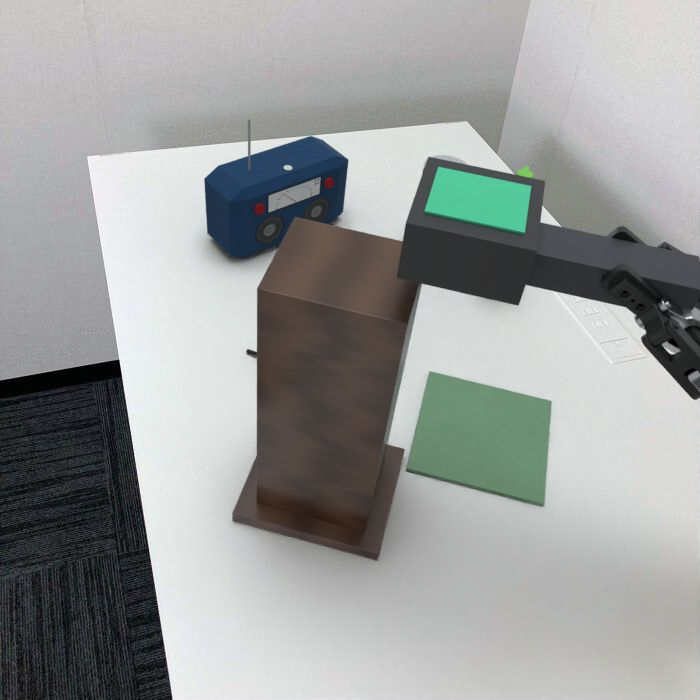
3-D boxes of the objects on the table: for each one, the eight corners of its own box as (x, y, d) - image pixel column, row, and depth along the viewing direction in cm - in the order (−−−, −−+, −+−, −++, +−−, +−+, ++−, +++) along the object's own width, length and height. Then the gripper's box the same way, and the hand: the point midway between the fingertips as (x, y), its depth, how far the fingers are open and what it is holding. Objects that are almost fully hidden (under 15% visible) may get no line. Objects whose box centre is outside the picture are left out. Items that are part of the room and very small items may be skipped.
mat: (550, 403, 95) (551, 400, 94) (543, 506, 84) (544, 504, 83) (429, 373, 96) (429, 370, 96) (405, 470, 85) (406, 468, 85)
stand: (403, 456, 87) (456, 238, 64) (377, 560, 77) (429, 348, 54) (273, 422, 88) (279, 199, 65) (232, 520, 79) (222, 298, 56)
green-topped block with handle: (680, 267, 58) (709, 212, 54) (689, 344, 51) (722, 288, 48) (418, 210, 60) (428, 153, 56) (396, 278, 54) (406, 219, 50)
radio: (236, 268, 107) (233, 146, 93) (204, 237, 112) (197, 116, 97) (347, 223, 117) (360, 107, 103) (314, 196, 122) (323, 81, 107)
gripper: (794, 298, 60) (649, 169, 55) (831, 430, 50) (658, 286, 46) (712, 343, 65) (573, 228, 60) (731, 471, 55) (567, 346, 51)
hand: (611, 254), depth 53 cm, fingers closed on green-topped block with handle, 4 cm apart
